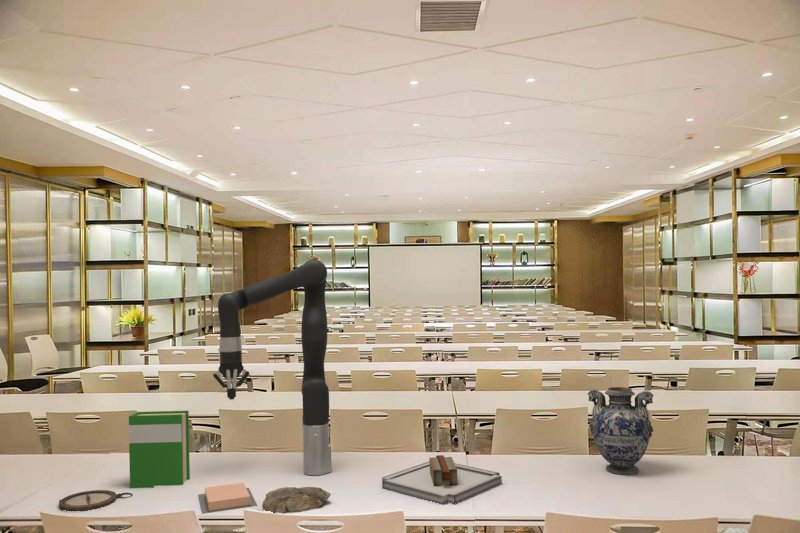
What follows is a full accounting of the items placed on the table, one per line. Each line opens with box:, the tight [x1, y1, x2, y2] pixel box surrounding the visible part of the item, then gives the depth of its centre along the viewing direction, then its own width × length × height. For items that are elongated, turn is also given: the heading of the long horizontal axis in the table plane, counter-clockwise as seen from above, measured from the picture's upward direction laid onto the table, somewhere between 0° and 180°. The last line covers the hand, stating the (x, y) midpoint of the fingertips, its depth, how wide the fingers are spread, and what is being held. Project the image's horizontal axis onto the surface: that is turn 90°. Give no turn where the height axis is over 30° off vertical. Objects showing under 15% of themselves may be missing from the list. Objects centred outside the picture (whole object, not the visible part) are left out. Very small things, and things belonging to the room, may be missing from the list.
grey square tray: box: [381, 454, 503, 506], centre depth 213 cm, size 30×30×8 cm
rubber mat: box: [197, 487, 258, 515], centre depth 201 cm, size 16×19×1 cm
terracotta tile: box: [204, 482, 250, 511], centre depth 200 cm, size 12×3×15 cm
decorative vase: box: [587, 386, 654, 476], centre depth 223 cm, size 21×19×28 cm
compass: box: [58, 489, 134, 512], centre depth 204 cm, size 20×16×2 cm
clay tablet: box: [261, 486, 332, 514], centre depth 197 cm, size 14×5×20 cm
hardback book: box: [128, 410, 191, 489], centre depth 222 cm, size 18×7×24 cm, turn 90°
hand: (231, 399), depth 229 cm, fingers closed
